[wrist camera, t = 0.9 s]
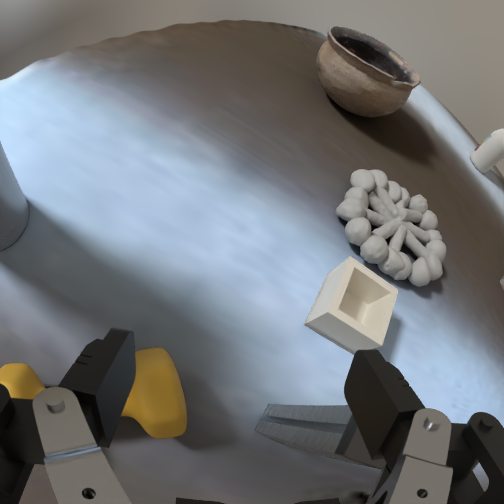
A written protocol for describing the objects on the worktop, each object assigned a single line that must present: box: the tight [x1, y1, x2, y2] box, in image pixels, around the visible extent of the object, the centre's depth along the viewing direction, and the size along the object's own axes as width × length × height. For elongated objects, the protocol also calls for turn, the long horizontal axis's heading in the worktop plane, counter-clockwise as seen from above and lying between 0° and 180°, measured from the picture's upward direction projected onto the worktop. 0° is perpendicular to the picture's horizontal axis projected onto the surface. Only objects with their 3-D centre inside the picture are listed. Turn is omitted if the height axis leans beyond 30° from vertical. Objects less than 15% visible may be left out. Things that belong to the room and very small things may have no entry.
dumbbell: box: [0, 347, 187, 439], centre depth 24 cm, size 19×9×8 cm, turn 104°
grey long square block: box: [255, 404, 386, 469], centre depth 24 cm, size 4×4×18 cm
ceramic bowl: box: [316, 26, 421, 117], centre depth 57 cm, size 22×22×15 cm
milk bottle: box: [470, 128, 504, 174], centre depth 67 cm, size 8×8×20 cm
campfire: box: [336, 169, 446, 287], centre depth 47 cm, size 22×21×6 cm
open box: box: [304, 256, 398, 354], centre depth 37 cm, size 8×8×6 cm
